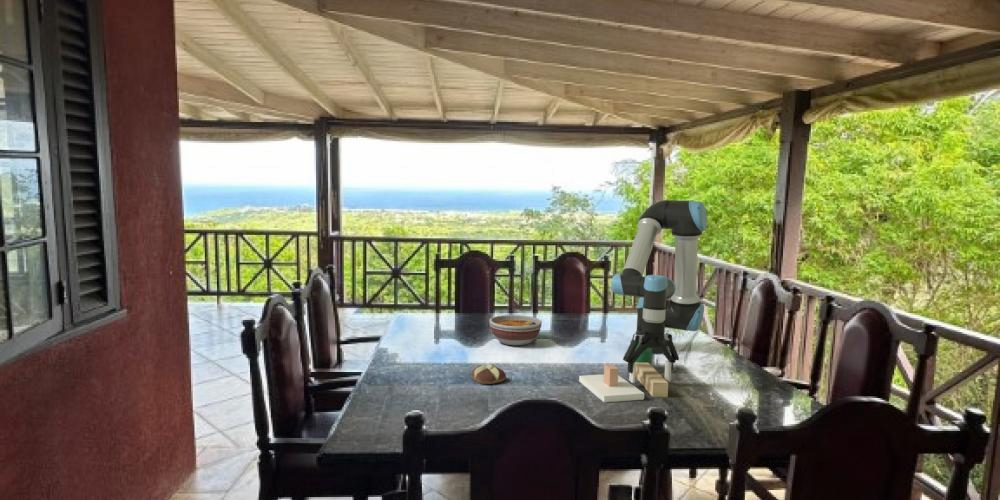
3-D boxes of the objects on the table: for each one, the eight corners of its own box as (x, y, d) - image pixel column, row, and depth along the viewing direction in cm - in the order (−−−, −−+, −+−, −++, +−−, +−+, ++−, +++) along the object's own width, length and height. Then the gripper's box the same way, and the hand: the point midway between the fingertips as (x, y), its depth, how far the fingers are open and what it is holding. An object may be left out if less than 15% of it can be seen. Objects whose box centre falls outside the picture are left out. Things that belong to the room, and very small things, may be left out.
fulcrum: (615, 379, 195) (616, 357, 194) (644, 399, 176) (645, 375, 175) (579, 381, 191) (580, 359, 191) (604, 402, 172) (605, 377, 171)
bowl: (550, 341, 244) (550, 319, 243) (524, 353, 225) (525, 329, 224) (506, 333, 256) (507, 312, 255) (478, 343, 237) (479, 321, 236)
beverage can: (636, 365, 212) (637, 335, 211) (654, 370, 206) (656, 339, 205) (624, 369, 206) (626, 338, 205) (643, 375, 201) (645, 343, 200)
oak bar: (634, 375, 201) (634, 362, 200) (647, 375, 201) (648, 362, 200) (652, 397, 179) (653, 382, 178) (667, 397, 179) (668, 383, 178)
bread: (467, 377, 193) (468, 363, 193) (497, 373, 198) (497, 360, 197) (479, 387, 183) (479, 372, 183) (510, 383, 188) (510, 369, 187)
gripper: (679, 317, 194) (675, 375, 196) (615, 318, 188) (612, 379, 190) (691, 322, 187) (687, 382, 189) (625, 323, 181) (622, 386, 182)
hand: (649, 381), depth 189 cm, fingers open, 13 cm apart
